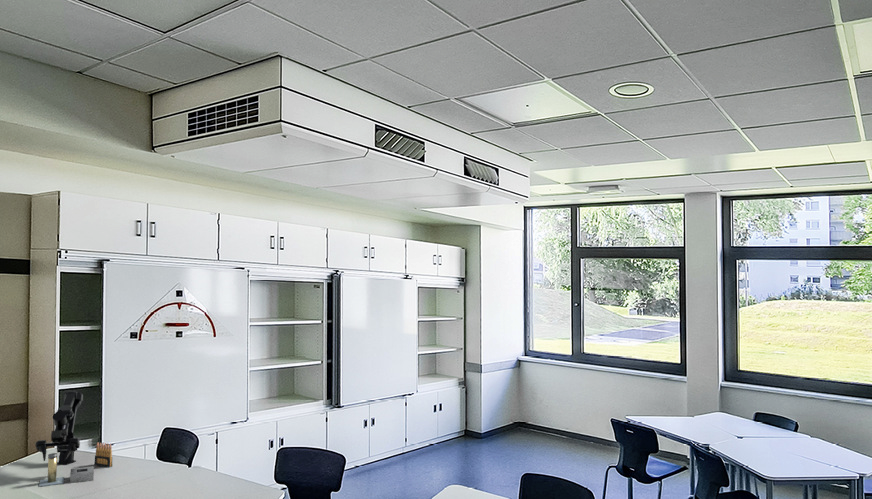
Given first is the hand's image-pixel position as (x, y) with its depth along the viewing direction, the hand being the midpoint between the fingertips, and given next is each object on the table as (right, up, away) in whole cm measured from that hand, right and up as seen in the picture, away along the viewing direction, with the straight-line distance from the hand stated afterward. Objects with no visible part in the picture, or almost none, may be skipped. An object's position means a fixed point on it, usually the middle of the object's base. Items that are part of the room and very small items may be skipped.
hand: (54, 459), depth 310 cm
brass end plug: (+1, -9, -5) cm, 10 cm away
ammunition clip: (+12, -11, +22) cm, 28 cm away
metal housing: (+13, -10, +1) cm, 16 cm away
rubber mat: (+1, -9, -5) cm, 10 cm away
